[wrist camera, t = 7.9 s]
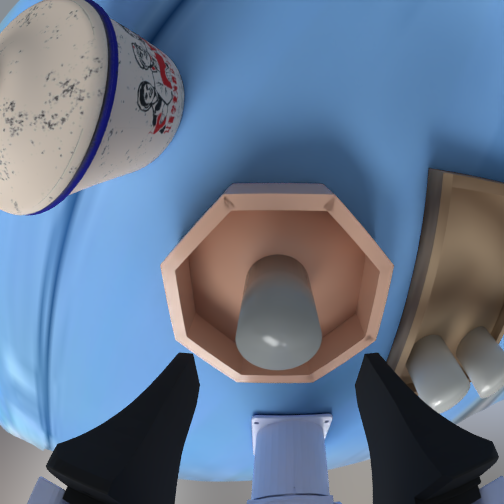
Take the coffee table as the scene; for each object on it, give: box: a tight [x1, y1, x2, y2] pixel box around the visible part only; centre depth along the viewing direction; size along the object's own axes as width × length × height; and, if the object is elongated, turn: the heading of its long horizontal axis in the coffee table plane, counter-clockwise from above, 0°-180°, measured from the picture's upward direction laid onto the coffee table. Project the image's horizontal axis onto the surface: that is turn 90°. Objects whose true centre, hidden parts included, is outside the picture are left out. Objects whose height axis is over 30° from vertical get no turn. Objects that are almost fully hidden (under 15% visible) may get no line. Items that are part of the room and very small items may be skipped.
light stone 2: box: [456, 326, 504, 398], centre depth 17 cm, size 4×4×6 cm
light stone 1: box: [405, 335, 470, 414], centre depth 17 cm, size 4×4×6 cm
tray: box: [387, 168, 504, 396], centre depth 17 cm, size 20×13×2 cm, turn 2°
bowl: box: [160, 183, 394, 383], centre depth 17 cm, size 13×13×3 cm
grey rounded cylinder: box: [236, 254, 322, 370], centre depth 15 cm, size 4×4×6 cm
